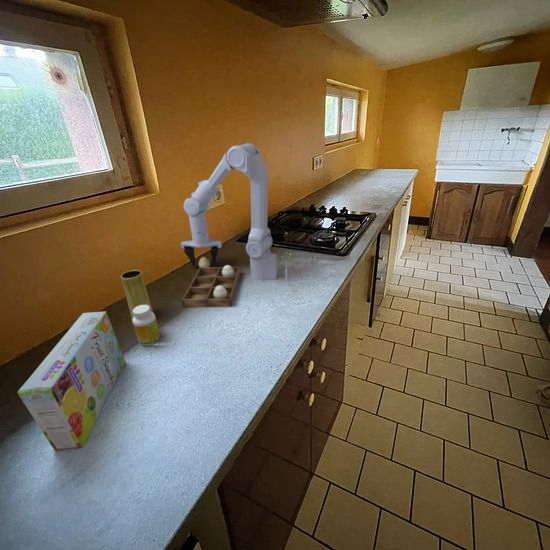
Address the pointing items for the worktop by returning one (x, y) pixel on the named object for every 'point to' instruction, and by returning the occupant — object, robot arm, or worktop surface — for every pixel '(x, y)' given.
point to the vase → (135, 290)
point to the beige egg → (204, 262)
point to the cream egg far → (227, 271)
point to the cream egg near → (220, 292)
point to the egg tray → (211, 288)
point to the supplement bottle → (145, 325)
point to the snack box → (74, 381)
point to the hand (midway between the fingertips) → (204, 264)
